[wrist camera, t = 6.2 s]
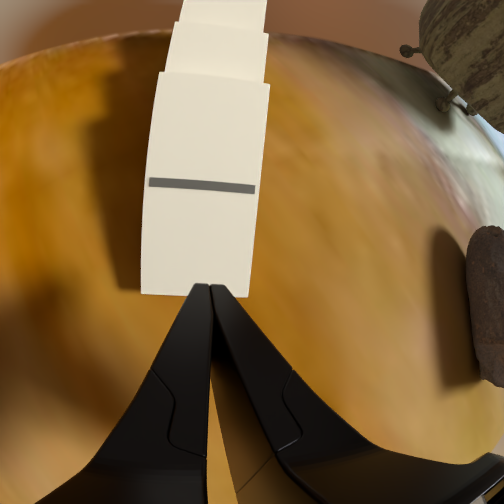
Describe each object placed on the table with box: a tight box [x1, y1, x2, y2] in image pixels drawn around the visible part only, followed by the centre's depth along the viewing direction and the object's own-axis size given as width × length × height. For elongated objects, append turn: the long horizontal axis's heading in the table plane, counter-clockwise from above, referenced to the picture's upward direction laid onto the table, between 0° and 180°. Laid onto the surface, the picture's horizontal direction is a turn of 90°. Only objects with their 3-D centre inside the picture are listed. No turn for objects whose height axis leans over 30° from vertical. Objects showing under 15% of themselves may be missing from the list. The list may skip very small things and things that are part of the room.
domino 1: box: [141, 72, 270, 297], centre depth 13 cm, size 2×5×10 cm
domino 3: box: [179, 0, 267, 33], centre depth 15 cm, size 2×5×10 cm
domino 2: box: [165, 22, 269, 83], centre depth 14 cm, size 2×5×10 cm
